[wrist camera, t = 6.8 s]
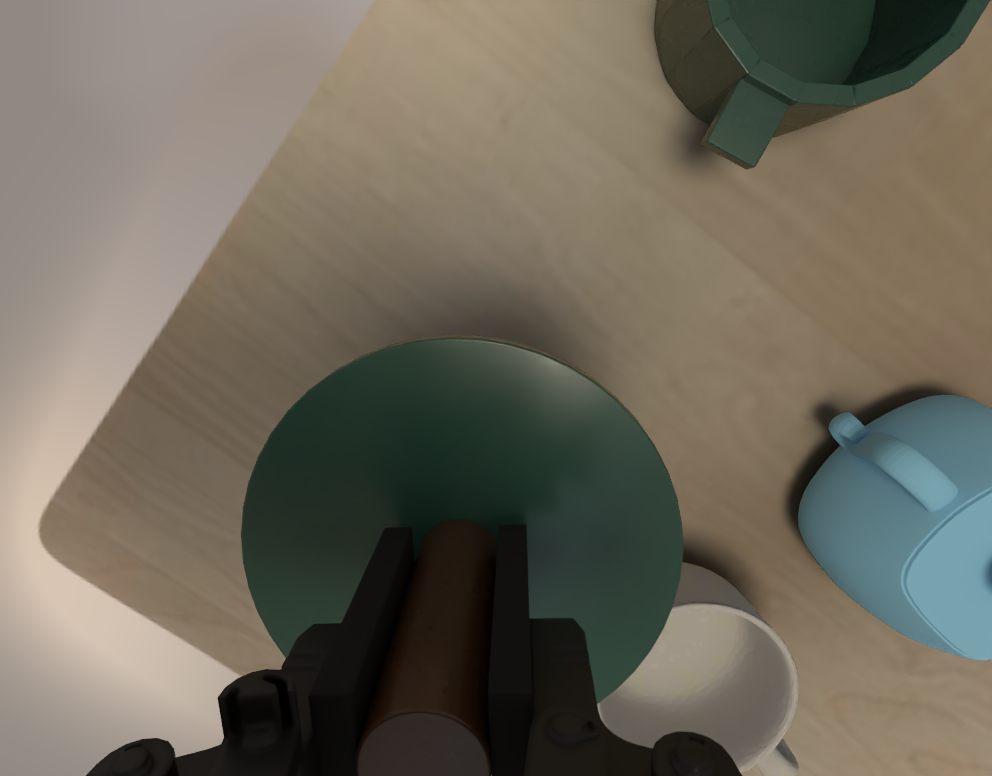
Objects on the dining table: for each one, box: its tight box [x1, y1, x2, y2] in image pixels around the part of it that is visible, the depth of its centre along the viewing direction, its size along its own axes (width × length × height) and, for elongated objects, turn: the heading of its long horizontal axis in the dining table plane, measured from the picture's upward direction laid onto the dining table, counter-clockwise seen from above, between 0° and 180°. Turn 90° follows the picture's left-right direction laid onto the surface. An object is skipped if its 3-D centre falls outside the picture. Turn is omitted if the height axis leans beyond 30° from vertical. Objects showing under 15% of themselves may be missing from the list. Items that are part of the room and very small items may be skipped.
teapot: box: [798, 395, 992, 660], centre depth 33 cm, size 13×11×18 cm
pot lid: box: [241, 335, 683, 776], centre depth 15 cm, size 13×13×9 cm
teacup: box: [597, 562, 799, 776], centre depth 37 cm, size 14×11×8 cm
